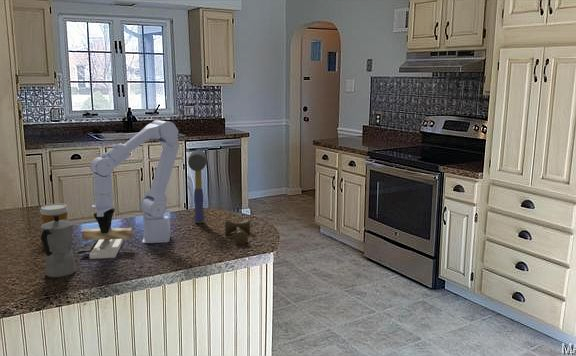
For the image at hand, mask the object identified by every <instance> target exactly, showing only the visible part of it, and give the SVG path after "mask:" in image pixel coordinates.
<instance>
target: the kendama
mask: <svg viewBox="0 0 576 356" xmlns="http://www.w3.org/2000/svg"><path fill="white" fill-rule="evenodd" d="M250 221H251V220H249V219H248V218H247V219H246V220H243V221H240V222H237V221H234V222H233V221H231V220H229V219H226V218H225V221H224V234H225V236H226V235H227V236H228V235H230V234H231V233H233V241H234V243H235V244H237V245H238V244H240V245H241V244H242V245H245V244H247V243H248V241H249V234H250V232H251V222H250Z"/></svg>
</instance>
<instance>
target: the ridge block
mask: <svg viewBox="0 0 576 356" xmlns="http://www.w3.org/2000/svg"><path fill="white" fill-rule="evenodd" d="M123 242H124V239H100V240H97V241H96V244H94V246H93V247H92V248H93V249H91V251H90V253H89V259H90V260H91V259H115V258H116V257H117V254H119V253H118V252H119V251H120V250H121V247H122V245H123Z"/></svg>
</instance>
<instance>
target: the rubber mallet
mask: <svg viewBox="0 0 576 356" xmlns="http://www.w3.org/2000/svg"><path fill="white" fill-rule="evenodd" d="M187 163H188V166H189V168H190V170H192V171H194V181H195V183H194V187H195V188H194V192H193V193H194V194H193V203H194V222H195V223H197V224H202V223H204V220H205V217H204V193H203V192H204V191H203V188H202V186H203V183H202V170H204V169H205V167H206V165H207V164H208V155H207V154H206V153H205V152H204V151H203V150H201V149H196V150H194V151H192V152H191V153H190V154H189V156H188V159H187Z"/></svg>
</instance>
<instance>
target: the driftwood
mask: <svg viewBox="0 0 576 356" xmlns="http://www.w3.org/2000/svg"><path fill="white" fill-rule="evenodd" d="M82 241H86V240H82V239H81V242H82ZM90 241H91V242H88V241H86V242H87V243H86V244H85V243H81V242H80V243H81V244H80V245H79V244H78V245H79V246H78V249H79V251H78V253H79V252H91V251H92V248H94V245H96V244H97V242H98V240H94V241H93V240H90ZM78 249H77V250H78ZM80 249H81V250H80Z"/></svg>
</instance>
